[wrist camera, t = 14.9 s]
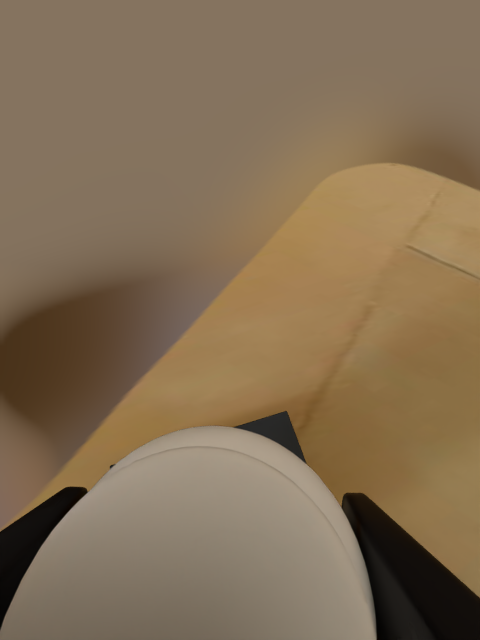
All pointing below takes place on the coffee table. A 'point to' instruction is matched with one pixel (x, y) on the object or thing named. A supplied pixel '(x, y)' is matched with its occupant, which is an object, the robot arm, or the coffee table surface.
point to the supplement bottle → (199, 551)
